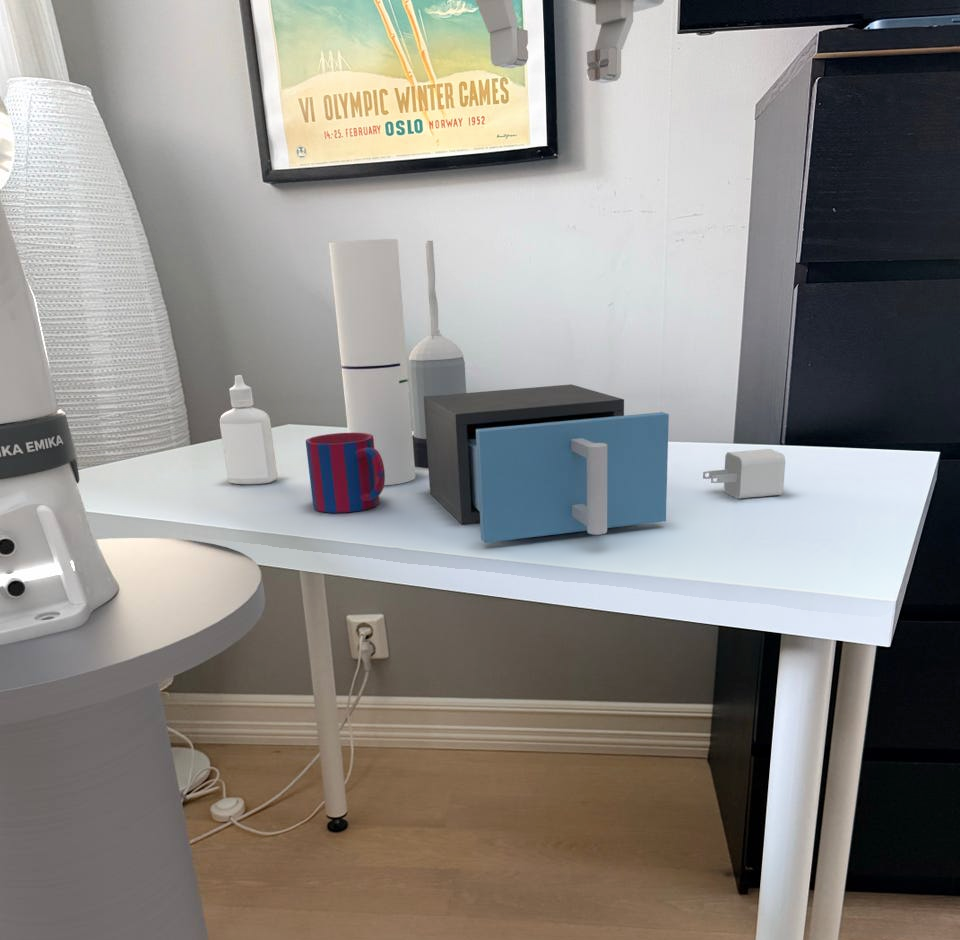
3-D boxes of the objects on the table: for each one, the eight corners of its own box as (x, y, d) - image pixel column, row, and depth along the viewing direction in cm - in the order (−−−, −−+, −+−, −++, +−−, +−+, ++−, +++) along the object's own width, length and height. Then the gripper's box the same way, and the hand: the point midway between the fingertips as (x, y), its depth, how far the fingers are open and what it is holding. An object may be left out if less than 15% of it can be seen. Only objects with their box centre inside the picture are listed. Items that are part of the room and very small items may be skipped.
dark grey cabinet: (623, 506, 89) (624, 399, 85) (461, 524, 85) (455, 414, 82) (572, 478, 101) (571, 384, 98) (430, 493, 98) (423, 396, 94)
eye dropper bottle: (252, 487, 105) (236, 378, 100) (223, 482, 108) (207, 376, 104) (283, 480, 108) (269, 374, 103) (254, 475, 111) (239, 372, 107)
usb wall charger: (782, 496, 89) (785, 454, 88) (714, 502, 88) (716, 460, 87) (764, 487, 93) (767, 447, 91) (698, 493, 92) (700, 453, 91)
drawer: (694, 536, 76) (699, 422, 72) (502, 560, 72) (497, 441, 69) (606, 489, 93) (606, 395, 90) (447, 507, 89) (441, 409, 86)
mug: (360, 494, 99) (353, 430, 96) (407, 510, 91) (402, 440, 89) (302, 505, 96) (294, 438, 93) (347, 522, 88) (339, 450, 85)
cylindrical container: (340, 480, 106) (315, 244, 97) (390, 469, 111) (370, 242, 101) (377, 488, 101) (354, 240, 92) (428, 477, 106) (411, 238, 96)
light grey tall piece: (480, 453, 118) (469, 239, 108) (470, 466, 110) (457, 237, 101) (417, 455, 119) (402, 243, 109) (403, 468, 111) (385, 242, 102)
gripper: (617, -137, 63) (616, 95, 68) (390, -232, 50) (409, 65, 55) (698, -169, 59) (690, 81, 64) (474, -283, 46) (486, 45, 51)
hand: (559, 74), depth 59 cm, fingers open, 8 cm apart
